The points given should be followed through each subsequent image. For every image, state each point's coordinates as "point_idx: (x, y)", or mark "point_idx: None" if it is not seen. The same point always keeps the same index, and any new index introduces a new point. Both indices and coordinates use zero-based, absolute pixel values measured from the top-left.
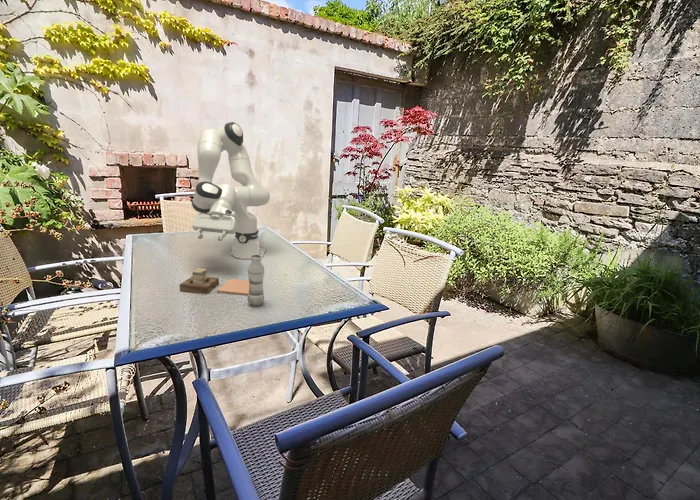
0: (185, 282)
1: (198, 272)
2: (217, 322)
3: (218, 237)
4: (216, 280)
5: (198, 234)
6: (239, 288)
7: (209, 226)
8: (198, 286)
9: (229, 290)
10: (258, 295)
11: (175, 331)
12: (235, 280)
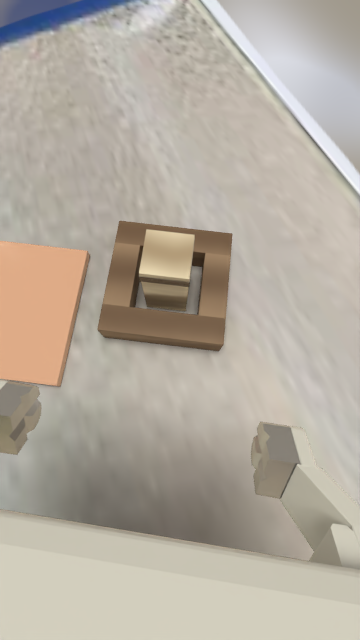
0: (220, 257)
1: (163, 232)
2: (43, 79)
3: (19, 396)
4: (103, 307)
5: (310, 452)
6: (1, 278)
7: (164, 577)
8: (153, 225)
9: (39, 254)
10: None
11: (131, 41)
12: (30, 366)
